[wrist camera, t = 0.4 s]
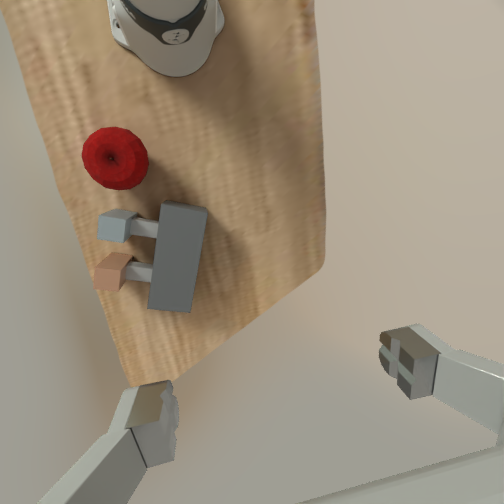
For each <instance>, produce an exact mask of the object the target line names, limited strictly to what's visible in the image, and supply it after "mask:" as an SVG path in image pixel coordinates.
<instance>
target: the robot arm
mask: <svg viewBox="0 0 504 504" xmlns="http://www.w3.org/2000/svg"><path fill="white" fill-rule="evenodd" d="M107 3H108V10H109V17H110V23H111V30H112V35H113V37H114V39H115V41H116V42H117V43H118V44H120V45H121V46H123V47H125V48H127V49H129V50H131V51H133V52H134V53H135V54H136V55H137V56H138V57H139V58H140V59H141V60H142V61H143V62H144V63H145V64H146V65H148V66H149V67H150V68H152V69H153V70H155V71H157V72H159V73H161V74H164V75H167V76H173V77H181V76H186V75H189V74H191V73H193V72H195V71H197V70H198V69H199V68H200V67H201V66H202V65H203V64H204V63H205V61H206V60H207V58H208V56H209V54H210V51H211V48H212V44H213V41H214V39H215V38H216V36H217V35H218V34H219V33H220V32H221V30H222V29H223V27H224V15H223V13H222V10H221V7H220V4H219V2H218V0H107ZM118 24H119V26H120V28H117V25H118ZM380 342H381V343H382V344H383V345H382V347H381V348H380V349H379V358H380V362H381V365H382V366H383V368H384V370H385V371H386V372H387V373H388V374H389V375H390V376H392V377H394V378H396V379H397V385H398V386H399V387H400V389H401V390H402V391H403V392H404V393H405V394H406V396H407V397H408V398H409V399H410V400H412V399H416V398H421V397H425V396H430V395H433V397H435V398H437V399H438V400H440V401H442V402H443V403H445V404H447V405H449V406H450V407H452V408H454V409H456V410H457V411H459V412H461V413H462V414H464V415H466V416H468V417H469V418H471V419H473V420H474V421H476V422H478V423H480V424H481V425H483V426H485V427H487V428H488V429H490V430H492V431H493V432H495V433H497V434H499V435H498V439H497V443H496V446H495V447H491V448H488V449H484V450H481V451H477V452H474V453H470V454H467V455H463V456H460V457H456V458H453V459H449V460H447V461H442V462H439V463H436V464H432V465H429V466H425V467H422V468H418V469H415V470H411V471H408V472H405V473H401V474H397V475H394V476H391V477H387V478H384V479H380V480H377V481H373V482H369V483H366V484H363V485H359V486H356V487H352V488H349V489H345V490H342V491H338V492H335V493H332V494H328V495H325V496H321V497H318V498H314V499H311V500H307V501H304V502H300V503H297V504H504V364H501V363H498V362H495V361H492V360H489V359H486V358H483V357H480V356H477V355H474V354H471V353H468V352H465V351H463V350H455V349H453V348H452V347H451V346H449V345H448V344H446V343H445V342H444V341H443V340H441V339H440V338H439V337H437V336H436V335H434V334H433V333H432V332H430V331H429V330H428V329H426V328H425V327H424V326H422V325H420V324H414V325H409V326H406V327H402V328H398V329H393V330H389V331H384V332H381V334H380ZM172 392H173V386H172V383H171V381H170V380H165V381H160V382H155V383H150V384H145V385H141V386H137V387H132V388H127V389H126V390H125V391H124V392H123V394H122V396H121V399H120V401H119V404H118V407H117V409H116V412H115V414H114V417H113V420H112V422H111V425H110V427H109V430H108V432H107V434H105V435H102V436H101V437H100V438H99V439H98V440H97V441H96V442H95V443H94V444H93V445H92V446H91V447H90V448H89V449H88V450H87V451H86V453H85V454H84V455H83V456H82V457H81V458H80V459H79V460H78V461H77V462H76V463H75V464H74V465H73V466H72V467H71V468H70V469H69V470H68V471H67V472H66V473H65V475H64V476H63V477H62V478H61V479H60V480H59V481H58V482H57V483H56V484H55V485H54V486H53V487H52V488H51V489H50V490H49V492H47V493H46V495H44V497H43V498H42V499H41V500H40V501H39V502H38V503H37V504H127V503H128V501H129V499H130V498H131V496H132V494H133V492H134V491H135V489H136V488H137V486H138V484H139V483H140V481H141V479H142V478H143V476H144V474H145V473H146V471H147V468H149V467H153V466H156V465H160V464H163V463H167V462H170V461H173V460H174V455H175V447H176V436H175V433H174V431H175V430H176V428H177V427H178V422H179V408H178V402H177V399H176V397H175V396H174V395H172Z"/></svg>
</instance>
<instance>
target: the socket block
mask: <svg viewBox="0 0 504 504" xmlns="http://www.w3.org/2000/svg"><path fill="white" fill-rule="evenodd" d="M207 215H208V212H207V209H206V208H204V207H199V206H194V205H189V204H184V203H179V202H174V201H169V200H166V201H164V202H163V203H162V204H161V209H160V217H159V224H158V232H157V239H156V247H155V254H154V262H153V270H152V277H151V285H150V292H149V300H148V308H147V309H155V310H166V311H177V312H188V313H190V311H191V306H192V300H193V294H194V289H195V283H196V277H197V272H198V266H199V260H200V255H201V249H202V243H203V238H204V232H205V226H206V221H207Z"/></svg>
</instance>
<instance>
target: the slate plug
mask: <svg viewBox="0 0 504 504" xmlns="http://www.w3.org/2000/svg"><path fill="white" fill-rule="evenodd" d="M158 224H159V221H155V220H149V219H144V218H138V217H137V212H132V211H126V210H120V209H113V210H111V211H108V212H106V213H103V214H101V215H99V220H98V234H97V239H100V240H107V241H113V242H120V243H124V242H125V241H126V240H127V239H128V238H129V237H131V236H132V235H138V236H145V237H151V238H157V232H158Z"/></svg>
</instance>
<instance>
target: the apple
mask: <svg viewBox="0 0 504 504" xmlns="http://www.w3.org/2000/svg"><path fill="white" fill-rule="evenodd" d="M82 159H83V163H84V166H85V169H86V170H87V171H88V173H89V174H90V176H91V177H92V178H93V179H94V180H95V181H97V182H98V183H99V184H101V185H102V186H104V187H105V188H109V189H114V190H127V189H131V188H133V187H135V186H137V185H138V184H140V183H141V181H142V180H143V178H144V177H145V175H146V173H147V169H148V165H149V161H148V155H147V150H146V148H145V147H144V145H143V143H142V142H141V140H140V139H139V138H138V137H137V136H136V135H135V134H133V133H132V132H131V131H130V130H127V129H123V128H119V127H107V128H101V129H99V130H97V131H96V132H94V133H93V134H91V135H90V136H89V138H88V139H87V140H86V142H85V143H84V145H83V151H82Z"/></svg>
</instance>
